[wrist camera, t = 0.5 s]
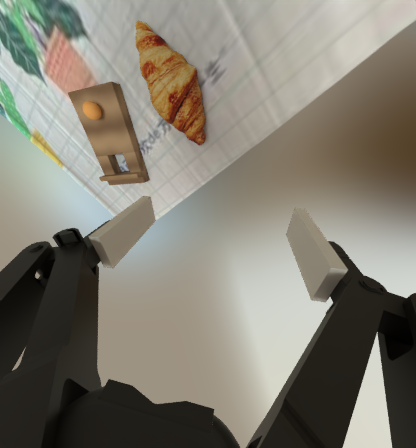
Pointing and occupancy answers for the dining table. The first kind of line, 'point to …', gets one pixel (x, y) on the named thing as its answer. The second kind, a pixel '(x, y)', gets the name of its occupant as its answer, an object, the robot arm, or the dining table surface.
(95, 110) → the ball
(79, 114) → the wooden tray with slot
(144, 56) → the croissant
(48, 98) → the dining table surface
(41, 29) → the dining table surface
